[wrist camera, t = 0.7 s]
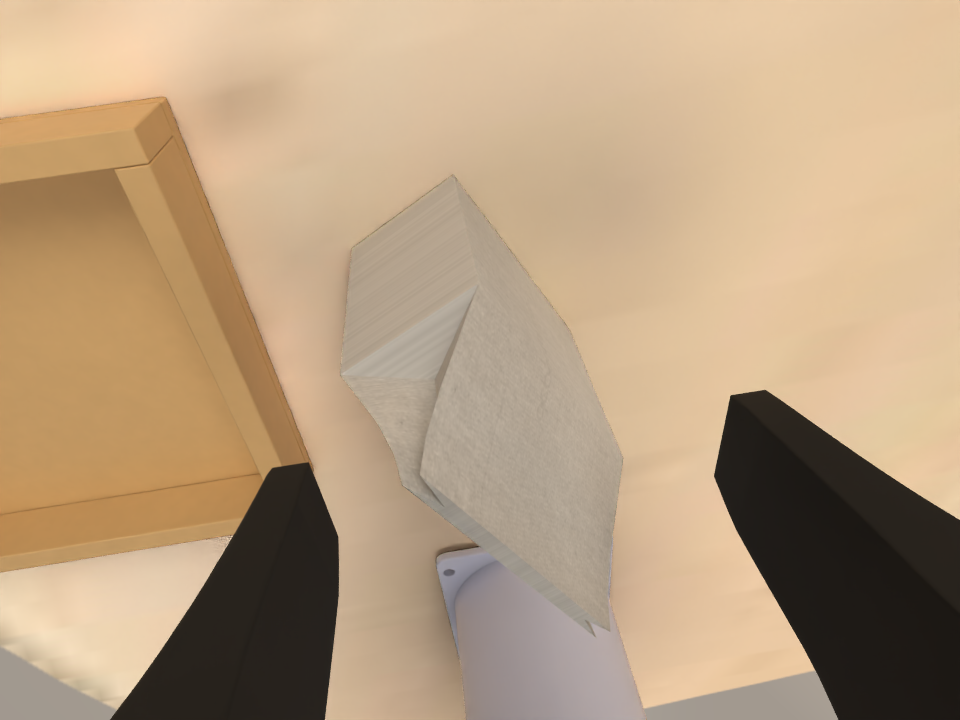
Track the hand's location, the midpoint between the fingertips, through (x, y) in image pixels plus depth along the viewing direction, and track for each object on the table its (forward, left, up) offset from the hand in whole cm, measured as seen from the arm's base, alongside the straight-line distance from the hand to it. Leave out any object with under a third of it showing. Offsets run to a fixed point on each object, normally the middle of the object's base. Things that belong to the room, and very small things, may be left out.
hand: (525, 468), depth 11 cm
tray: (-2, +13, -9) cm, 16 cm away
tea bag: (-2, 0, -10) cm, 10 cm away
